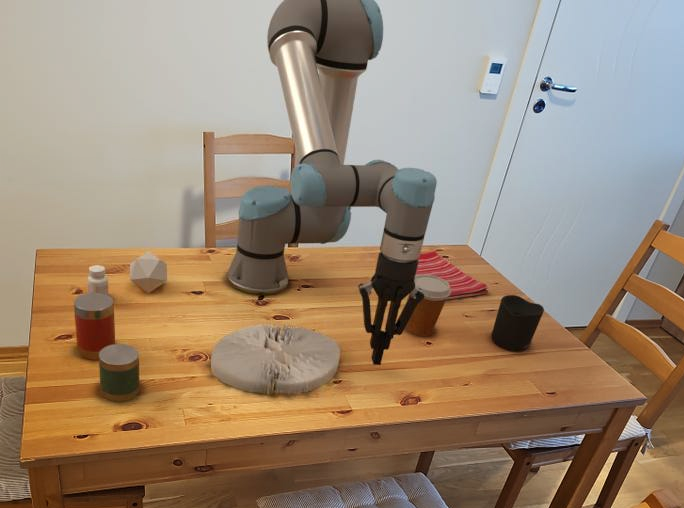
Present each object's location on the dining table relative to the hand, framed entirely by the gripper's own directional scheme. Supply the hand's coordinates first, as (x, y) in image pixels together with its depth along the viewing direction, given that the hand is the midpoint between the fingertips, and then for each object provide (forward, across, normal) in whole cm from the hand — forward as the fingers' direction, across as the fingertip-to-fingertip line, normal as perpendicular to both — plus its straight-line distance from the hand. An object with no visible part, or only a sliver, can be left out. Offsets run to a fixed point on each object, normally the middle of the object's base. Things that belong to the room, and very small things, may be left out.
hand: (375, 361), depth 131 cm
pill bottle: (+2, -60, +21) cm, 64 cm away
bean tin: (+2, -50, -13) cm, 51 cm away
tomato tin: (+2, -56, 0) cm, 56 cm away
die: (+2, -50, +29) cm, 58 cm away
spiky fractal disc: (+2, -20, 0) cm, 21 cm away
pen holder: (+2, +35, +16) cm, 38 cm away
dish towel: (+2, +25, +48) cm, 54 cm away
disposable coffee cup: (+2, +14, +19) cm, 23 cm away
